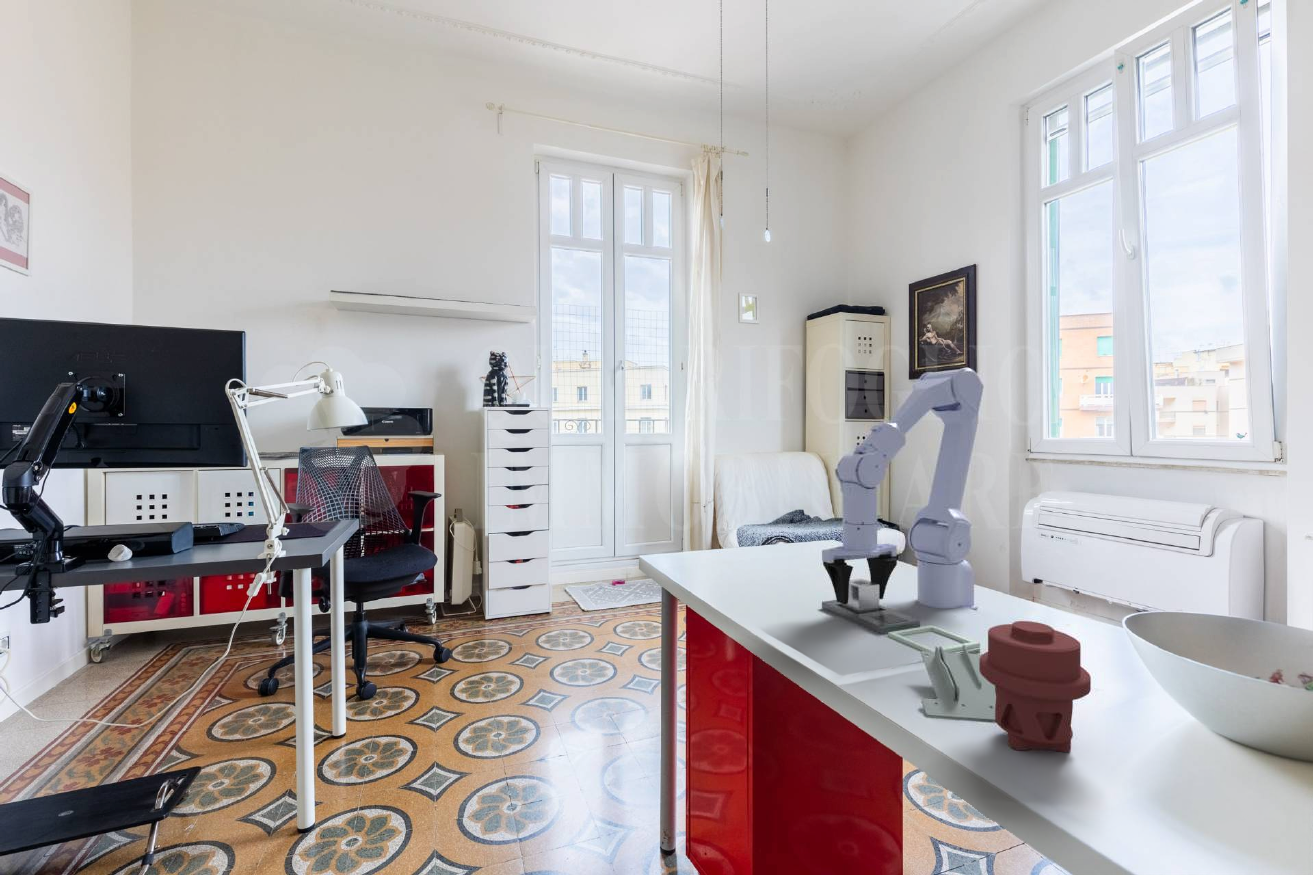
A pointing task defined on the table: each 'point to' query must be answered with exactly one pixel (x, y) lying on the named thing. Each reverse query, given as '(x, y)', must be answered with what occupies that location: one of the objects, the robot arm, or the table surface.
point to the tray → (967, 642)
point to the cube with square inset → (862, 597)
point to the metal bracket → (958, 687)
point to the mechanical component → (1034, 683)
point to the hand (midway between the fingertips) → (860, 600)
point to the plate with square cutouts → (874, 618)
